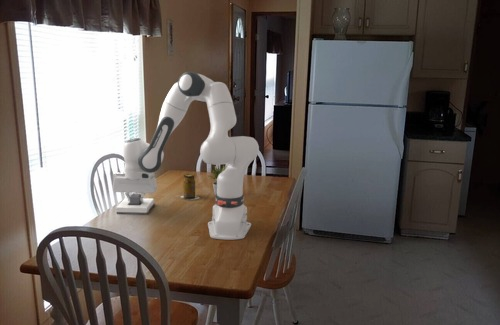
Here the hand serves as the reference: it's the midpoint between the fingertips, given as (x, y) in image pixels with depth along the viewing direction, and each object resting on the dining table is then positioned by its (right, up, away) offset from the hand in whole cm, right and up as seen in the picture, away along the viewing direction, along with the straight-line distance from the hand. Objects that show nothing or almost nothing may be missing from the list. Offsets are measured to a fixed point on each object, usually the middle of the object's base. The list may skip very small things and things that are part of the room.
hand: (135, 201), depth 211 cm
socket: (0, -4, +1) cm, 4 cm away
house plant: (+38, +1, +23) cm, 45 cm away
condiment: (+23, 0, +19) cm, 30 cm away
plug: (0, -2, +1) cm, 2 cm away
